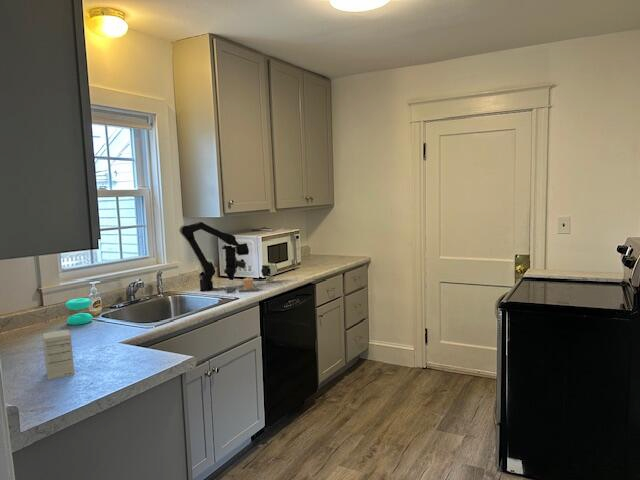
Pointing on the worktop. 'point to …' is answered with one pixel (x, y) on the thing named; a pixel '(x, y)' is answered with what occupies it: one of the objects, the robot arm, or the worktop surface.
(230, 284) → the block
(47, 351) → the supplement box
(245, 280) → the block
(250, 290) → the plate
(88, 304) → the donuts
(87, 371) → the worktop surface
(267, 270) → the pneumatic valve
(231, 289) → the ram rail
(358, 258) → the worktop surface
